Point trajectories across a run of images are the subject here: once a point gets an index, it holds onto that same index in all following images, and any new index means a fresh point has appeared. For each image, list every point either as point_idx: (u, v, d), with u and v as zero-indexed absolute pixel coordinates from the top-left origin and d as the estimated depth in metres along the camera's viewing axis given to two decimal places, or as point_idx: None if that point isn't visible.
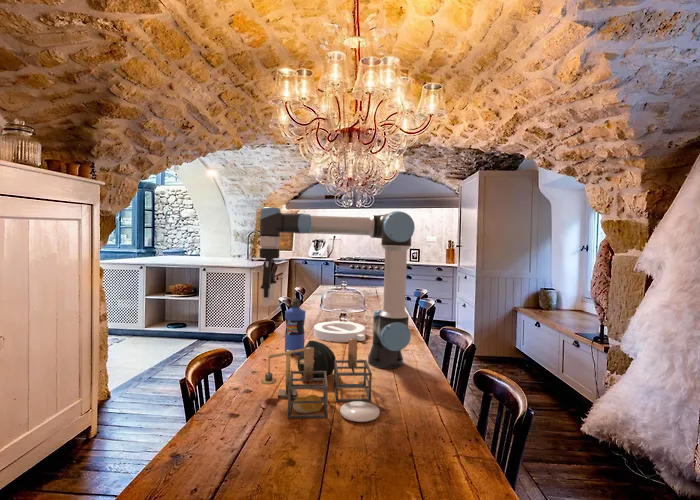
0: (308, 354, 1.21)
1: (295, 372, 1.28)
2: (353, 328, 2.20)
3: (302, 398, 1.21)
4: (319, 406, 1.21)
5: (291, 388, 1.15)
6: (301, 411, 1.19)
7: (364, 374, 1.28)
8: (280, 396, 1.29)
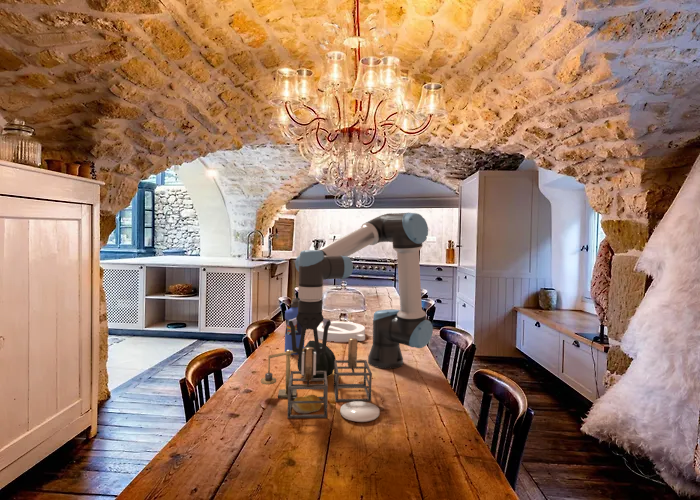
0: (308, 354, 1.21)
1: (295, 372, 1.28)
2: (353, 328, 2.20)
3: (301, 398, 1.21)
4: (318, 406, 1.21)
5: (291, 388, 1.15)
6: (300, 411, 1.19)
7: (364, 374, 1.28)
8: (280, 396, 1.29)
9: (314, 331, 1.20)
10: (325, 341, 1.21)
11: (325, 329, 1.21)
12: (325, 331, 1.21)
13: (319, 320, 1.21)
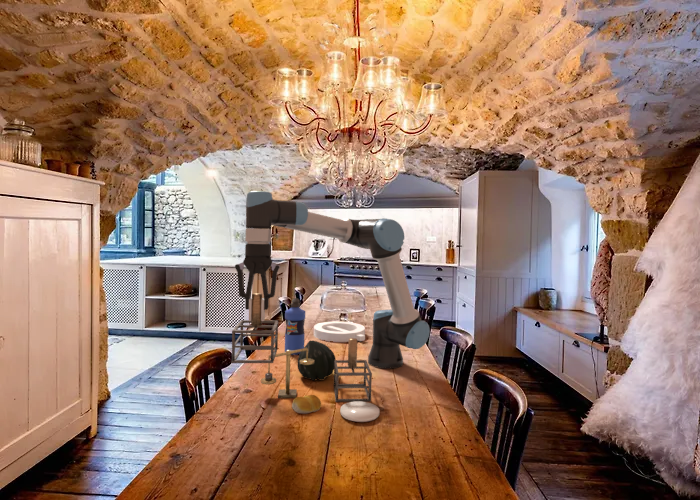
0: (256, 299, 1.17)
1: (245, 321, 1.24)
2: (353, 328, 2.20)
3: (301, 398, 1.21)
4: (318, 406, 1.21)
5: (235, 332, 1.11)
6: (300, 411, 1.19)
7: (364, 374, 1.28)
8: (280, 396, 1.29)
9: (262, 275, 1.16)
10: (273, 286, 1.17)
11: (273, 273, 1.17)
12: (273, 276, 1.17)
13: (267, 264, 1.17)
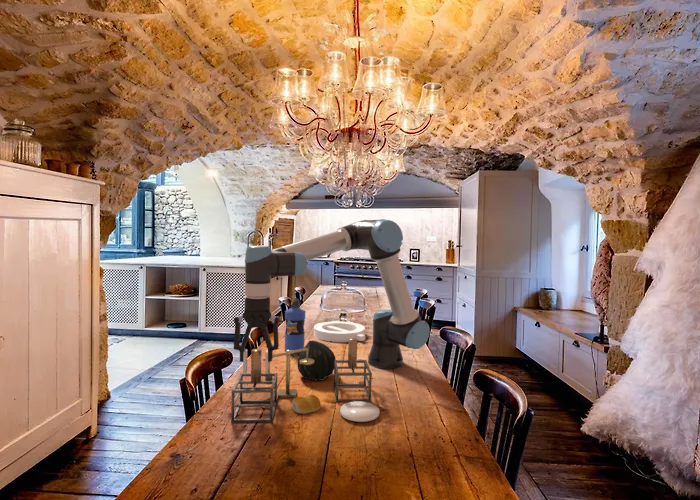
0: (255, 356, 1.17)
1: (245, 374, 1.25)
2: (353, 328, 2.20)
3: (300, 398, 1.21)
4: (317, 406, 1.21)
5: (235, 391, 1.12)
6: (299, 411, 1.19)
7: (364, 374, 1.28)
8: (280, 396, 1.29)
9: (262, 329, 1.17)
10: (276, 338, 1.18)
11: (274, 326, 1.18)
12: (274, 328, 1.18)
13: (266, 318, 1.18)
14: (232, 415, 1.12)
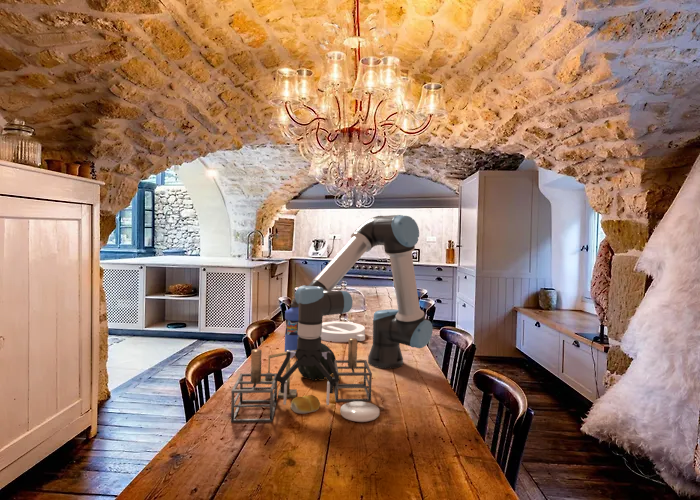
0: (255, 356, 1.17)
1: (245, 375, 1.25)
2: (353, 328, 2.19)
3: (299, 398, 1.21)
4: (316, 406, 1.21)
5: (234, 391, 1.12)
6: (298, 411, 1.19)
7: (364, 374, 1.28)
8: (280, 396, 1.29)
9: (318, 366, 1.21)
10: (334, 372, 1.22)
11: (328, 361, 1.22)
12: (329, 363, 1.22)
13: (319, 357, 1.21)
14: (232, 415, 1.12)
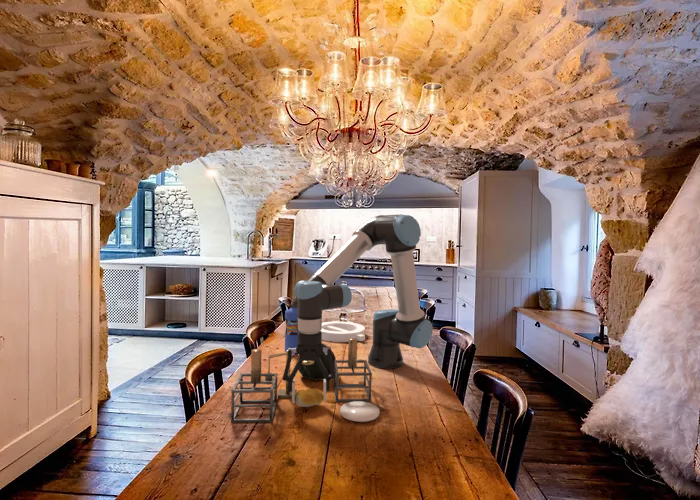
0: (255, 356, 1.17)
1: (245, 374, 1.25)
2: (353, 328, 2.19)
3: (303, 391, 1.22)
4: (320, 399, 1.22)
5: (234, 391, 1.12)
6: (303, 404, 1.19)
7: (364, 374, 1.28)
8: (280, 396, 1.29)
9: (317, 362, 1.21)
10: (332, 369, 1.22)
11: (328, 358, 1.22)
12: (329, 359, 1.22)
13: (319, 351, 1.22)
14: (232, 415, 1.12)
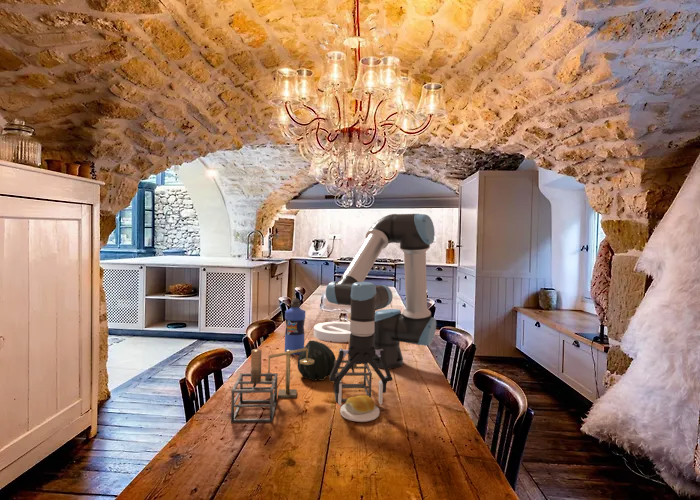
0: (255, 356, 1.17)
1: (245, 374, 1.25)
2: None
3: (355, 398, 1.18)
4: (373, 406, 1.18)
5: (234, 391, 1.12)
6: (355, 412, 1.15)
7: (364, 374, 1.28)
8: (280, 396, 1.29)
9: (371, 364, 1.18)
10: (388, 370, 1.19)
11: (382, 360, 1.18)
12: (383, 361, 1.18)
13: (372, 354, 1.18)
14: (232, 415, 1.12)
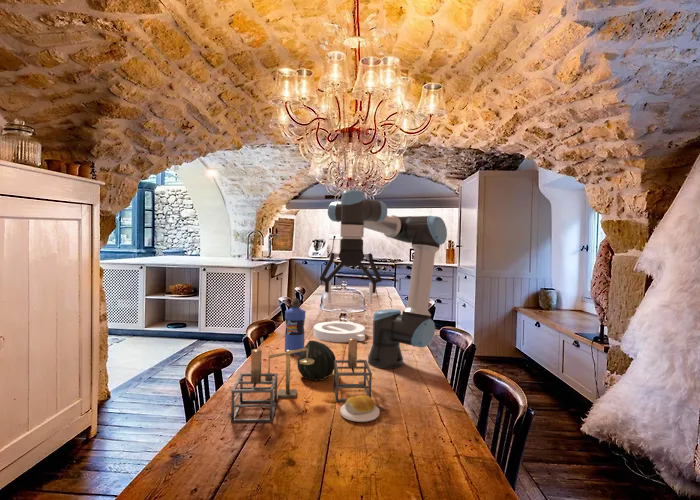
0: (255, 356, 1.17)
1: (245, 374, 1.25)
2: (353, 328, 2.19)
3: (355, 398, 1.18)
4: (372, 406, 1.18)
5: (234, 391, 1.12)
6: (355, 412, 1.15)
7: (364, 374, 1.28)
8: (280, 396, 1.29)
9: (361, 266, 1.26)
10: (377, 272, 1.27)
11: (371, 262, 1.27)
12: (372, 263, 1.27)
13: (361, 257, 1.27)
14: (232, 415, 1.12)
